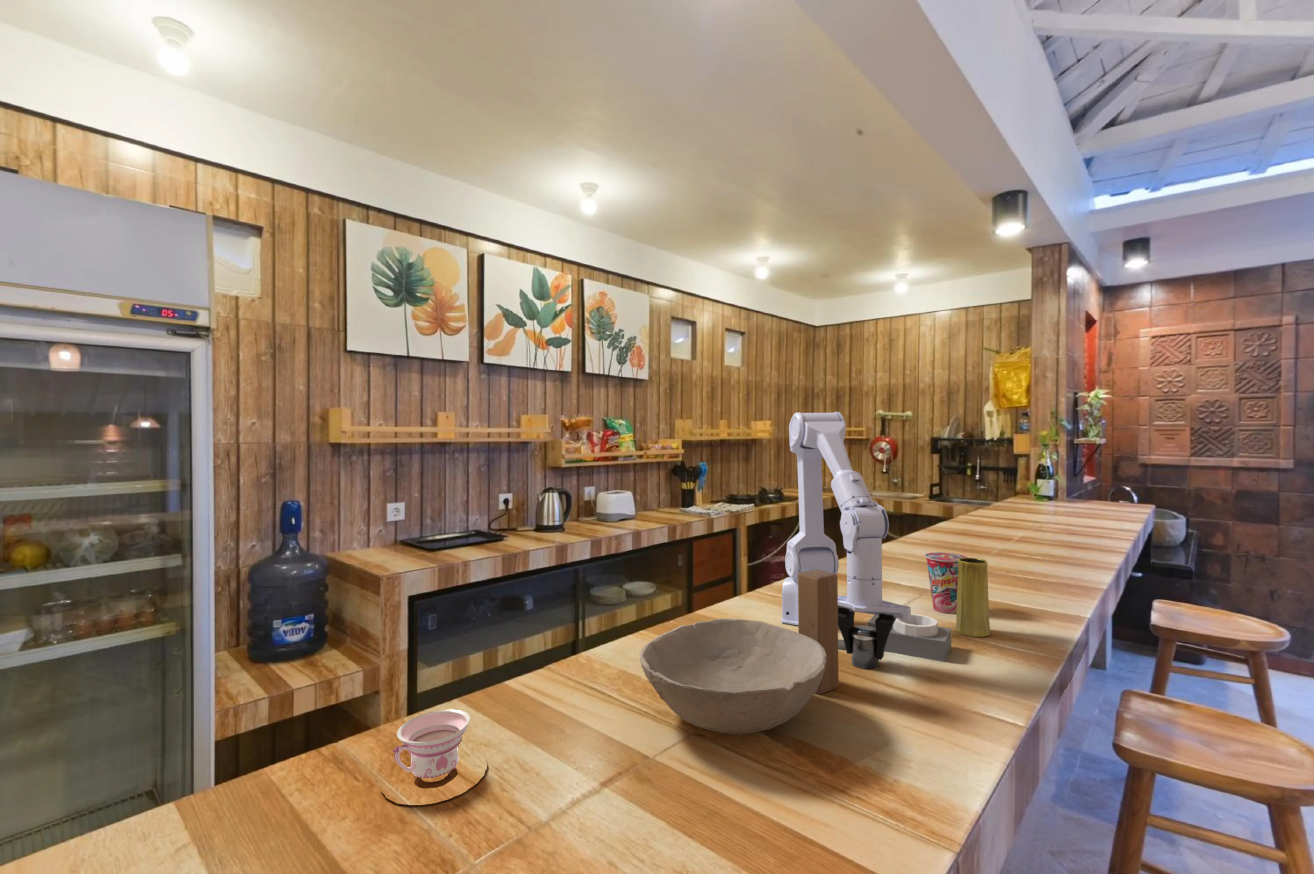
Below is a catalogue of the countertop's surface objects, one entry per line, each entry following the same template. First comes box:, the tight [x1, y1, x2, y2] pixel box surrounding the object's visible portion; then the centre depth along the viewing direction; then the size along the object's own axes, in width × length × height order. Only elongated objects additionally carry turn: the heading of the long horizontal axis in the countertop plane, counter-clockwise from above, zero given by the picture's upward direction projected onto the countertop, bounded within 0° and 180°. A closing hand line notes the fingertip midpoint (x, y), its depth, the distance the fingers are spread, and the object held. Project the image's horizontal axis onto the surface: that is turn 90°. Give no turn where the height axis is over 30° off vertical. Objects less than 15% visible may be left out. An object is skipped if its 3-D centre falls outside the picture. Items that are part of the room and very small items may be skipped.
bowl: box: [638, 618, 827, 736], centre depth 85 cm, size 26×26×10 cm
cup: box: [924, 552, 970, 615], centre depth 133 cm, size 9×8×12 cm
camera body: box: [867, 613, 952, 663], centre depth 111 cm, size 13×8×5 cm, turn 57°
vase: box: [955, 557, 991, 638], centre depth 118 cm, size 6×6×14 cm
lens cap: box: [838, 639, 846, 651], centre depth 113 cm, size 5×5×1 cm
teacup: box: [392, 708, 471, 779], centre depth 72 cm, size 12×12×6 cm
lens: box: [851, 624, 880, 670], centre depth 104 cm, size 4×4×6 cm
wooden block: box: [797, 569, 840, 695], centre depth 97 cm, size 9×4×18 cm, turn 33°
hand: (865, 654), depth 104 cm, fingers closed on lens, 4 cm apart
